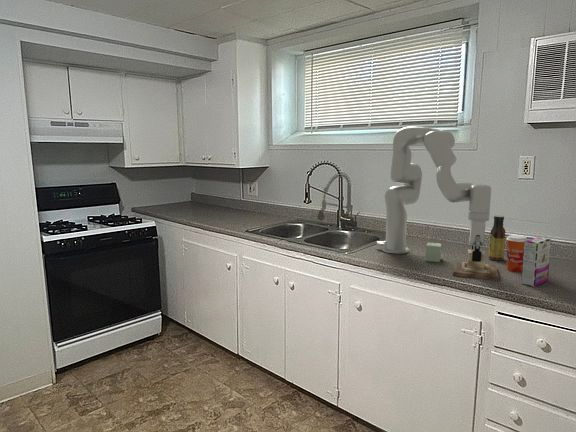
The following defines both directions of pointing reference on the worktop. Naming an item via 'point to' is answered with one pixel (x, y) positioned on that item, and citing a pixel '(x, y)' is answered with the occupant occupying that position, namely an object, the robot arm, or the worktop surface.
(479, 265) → the maple block
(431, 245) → the sage block
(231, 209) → the worktop surface
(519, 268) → the paper cup
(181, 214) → the worktop surface
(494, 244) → the sauce bottle
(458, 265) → the base plate
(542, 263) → the candy bar box
